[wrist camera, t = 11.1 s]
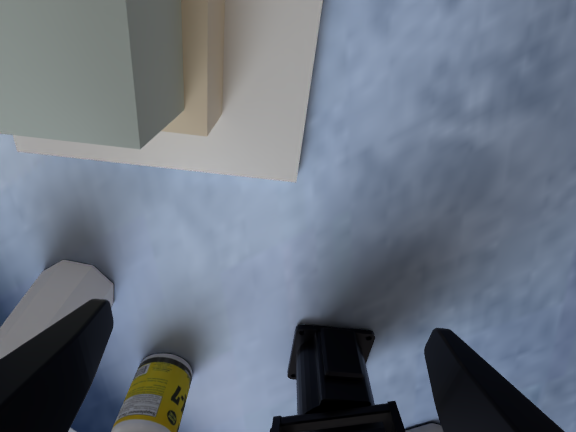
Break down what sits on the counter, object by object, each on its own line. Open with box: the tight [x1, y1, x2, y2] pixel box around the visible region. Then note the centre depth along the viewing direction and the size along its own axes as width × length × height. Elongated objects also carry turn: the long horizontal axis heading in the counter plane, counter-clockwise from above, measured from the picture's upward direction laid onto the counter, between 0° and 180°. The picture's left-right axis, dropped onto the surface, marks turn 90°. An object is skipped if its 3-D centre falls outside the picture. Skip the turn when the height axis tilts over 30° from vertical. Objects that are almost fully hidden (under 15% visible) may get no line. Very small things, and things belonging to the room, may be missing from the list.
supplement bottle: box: [111, 353, 193, 432], centre depth 27 cm, size 5×5×8 cm
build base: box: [13, 0, 323, 182], centre depth 15 cm, size 14×16×5 cm
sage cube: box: [0, 0, 184, 149], centre depth 11 cm, size 5×5×5 cm
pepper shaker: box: [0, 260, 113, 359], centre depth 21 cm, size 5×5×11 cm
